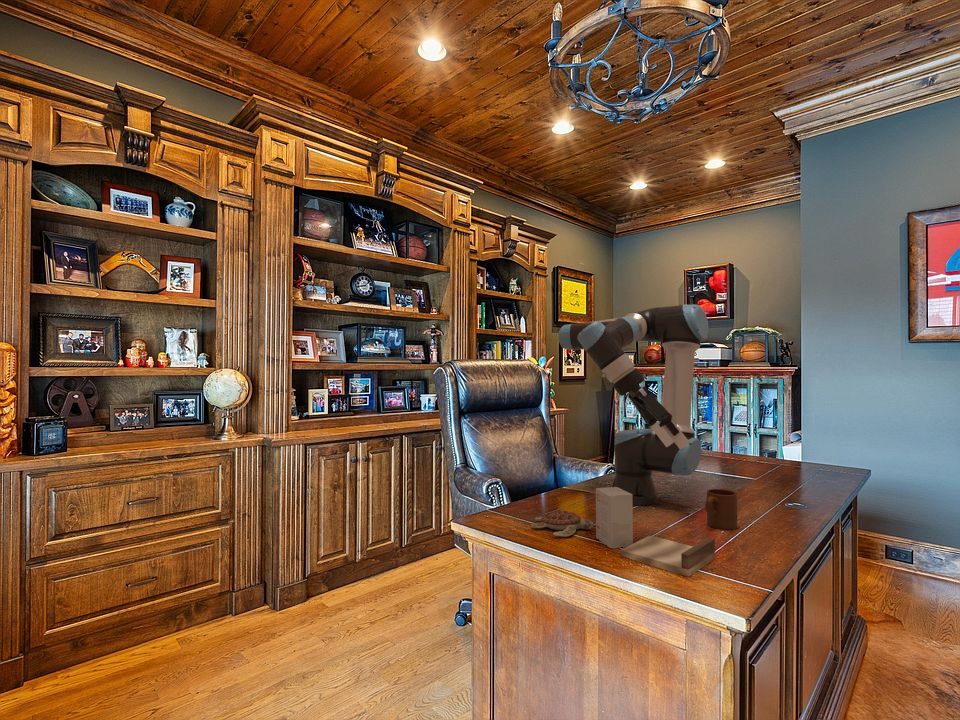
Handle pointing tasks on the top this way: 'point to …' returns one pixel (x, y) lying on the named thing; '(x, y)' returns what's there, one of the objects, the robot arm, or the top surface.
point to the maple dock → (672, 554)
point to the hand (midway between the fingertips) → (677, 445)
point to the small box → (614, 517)
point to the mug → (721, 509)
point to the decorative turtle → (563, 523)
